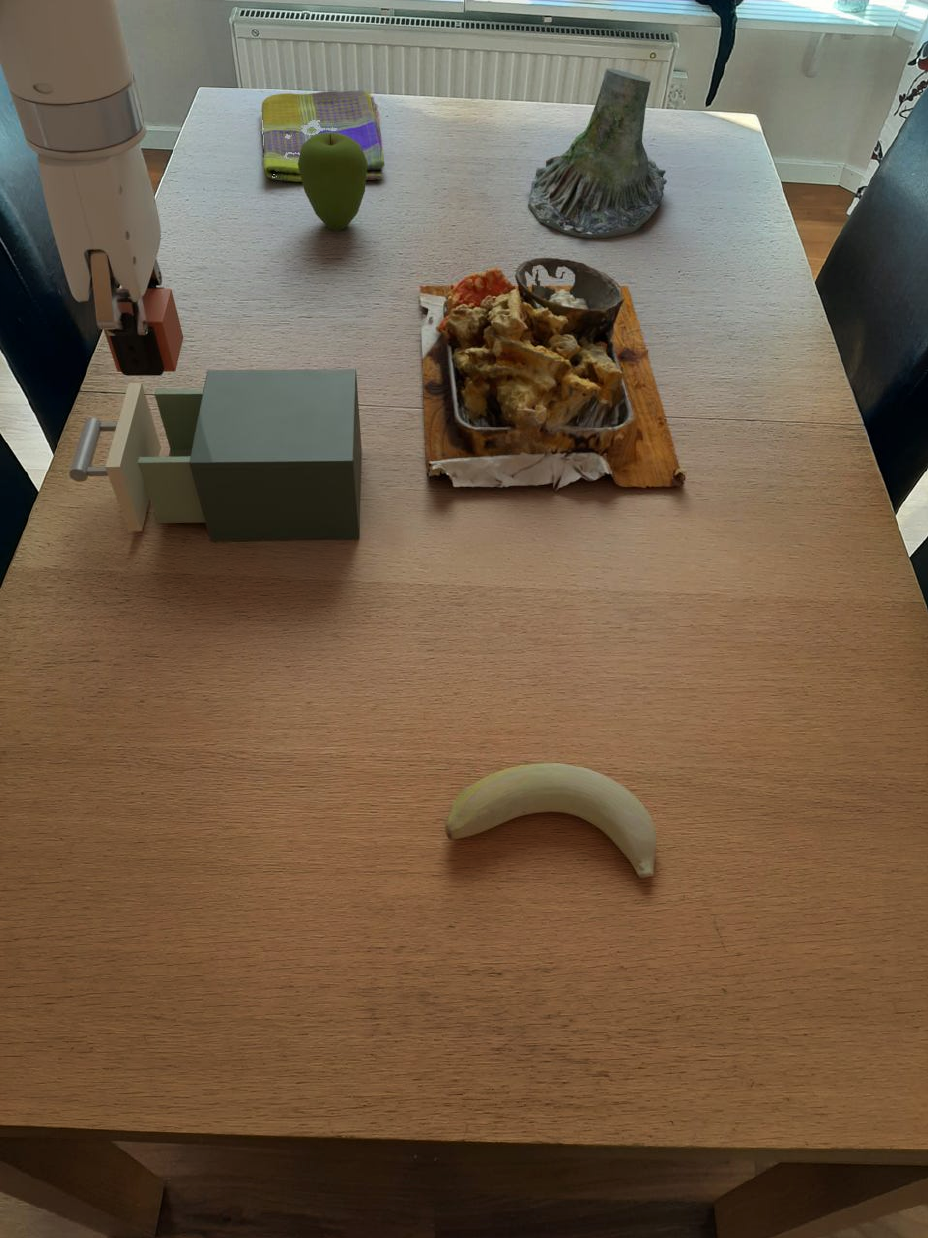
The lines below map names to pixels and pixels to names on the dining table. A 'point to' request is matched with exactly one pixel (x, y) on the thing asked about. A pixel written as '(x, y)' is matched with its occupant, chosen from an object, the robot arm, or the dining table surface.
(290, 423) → the cabinet
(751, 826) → the dining table surface
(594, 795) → the fruit
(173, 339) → the block
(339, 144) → the apple
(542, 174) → the tree stump
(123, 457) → the drawer
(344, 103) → the dish towel
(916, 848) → the dining table surface
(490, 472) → the food tray
